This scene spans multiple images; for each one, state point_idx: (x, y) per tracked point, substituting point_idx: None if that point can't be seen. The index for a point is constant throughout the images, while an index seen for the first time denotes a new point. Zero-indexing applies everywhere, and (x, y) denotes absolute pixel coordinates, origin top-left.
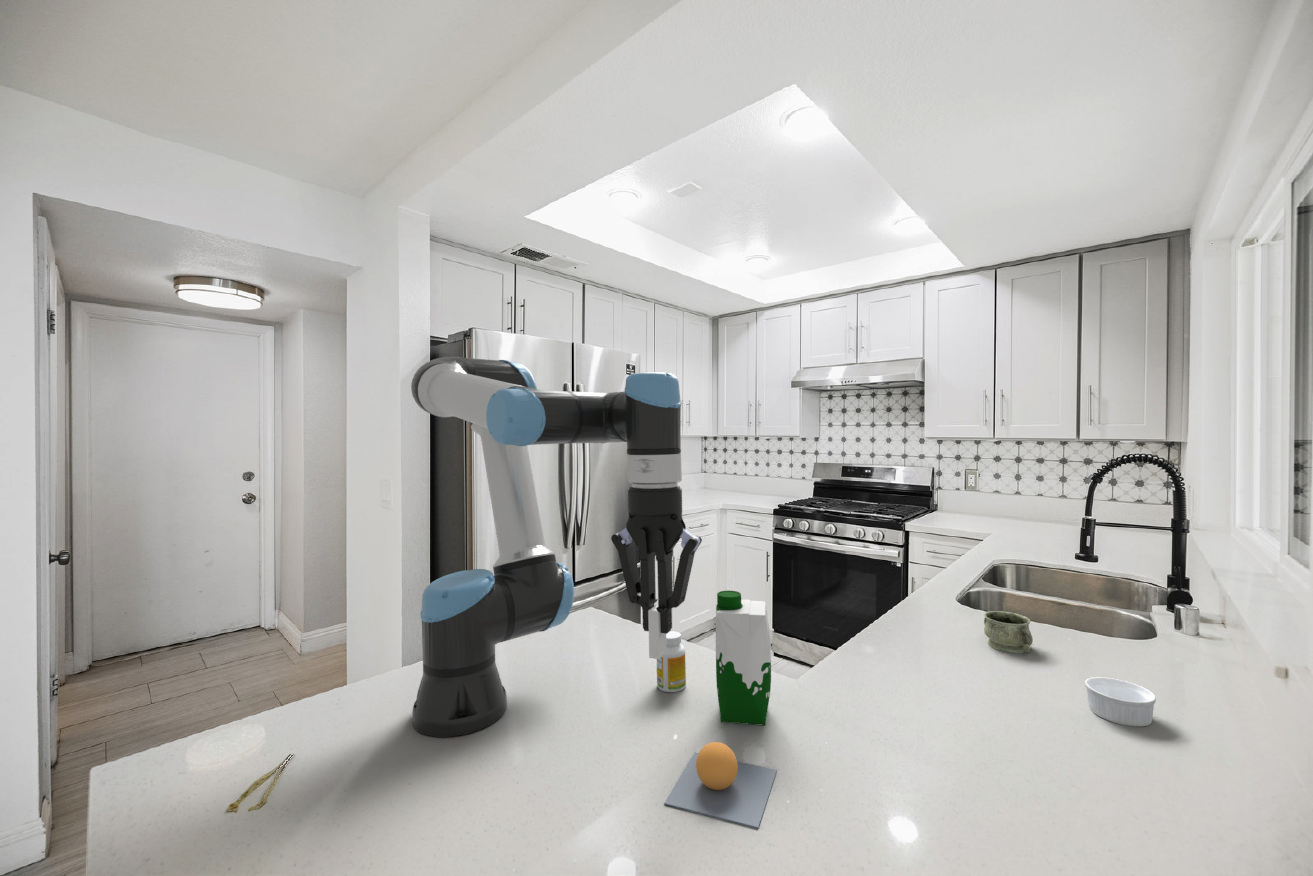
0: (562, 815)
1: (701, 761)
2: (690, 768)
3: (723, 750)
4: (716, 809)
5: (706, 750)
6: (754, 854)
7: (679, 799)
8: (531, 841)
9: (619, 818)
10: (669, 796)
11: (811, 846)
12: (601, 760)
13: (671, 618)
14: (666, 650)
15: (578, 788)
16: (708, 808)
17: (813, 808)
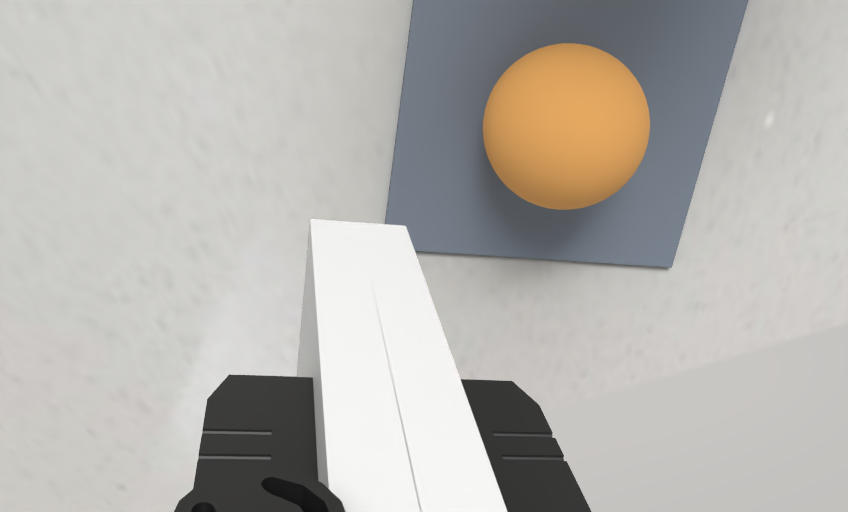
0: (80, 376)
1: (522, 189)
2: (431, 37)
3: (620, 166)
4: (551, 231)
5: (549, 176)
6: (654, 348)
7: (428, 220)
8: (58, 481)
9: (263, 337)
10: (391, 213)
11: (797, 283)
12: (35, 62)
13: (568, 481)
14: (406, 228)
15: (50, 250)
16: (526, 234)
17: (838, 134)
